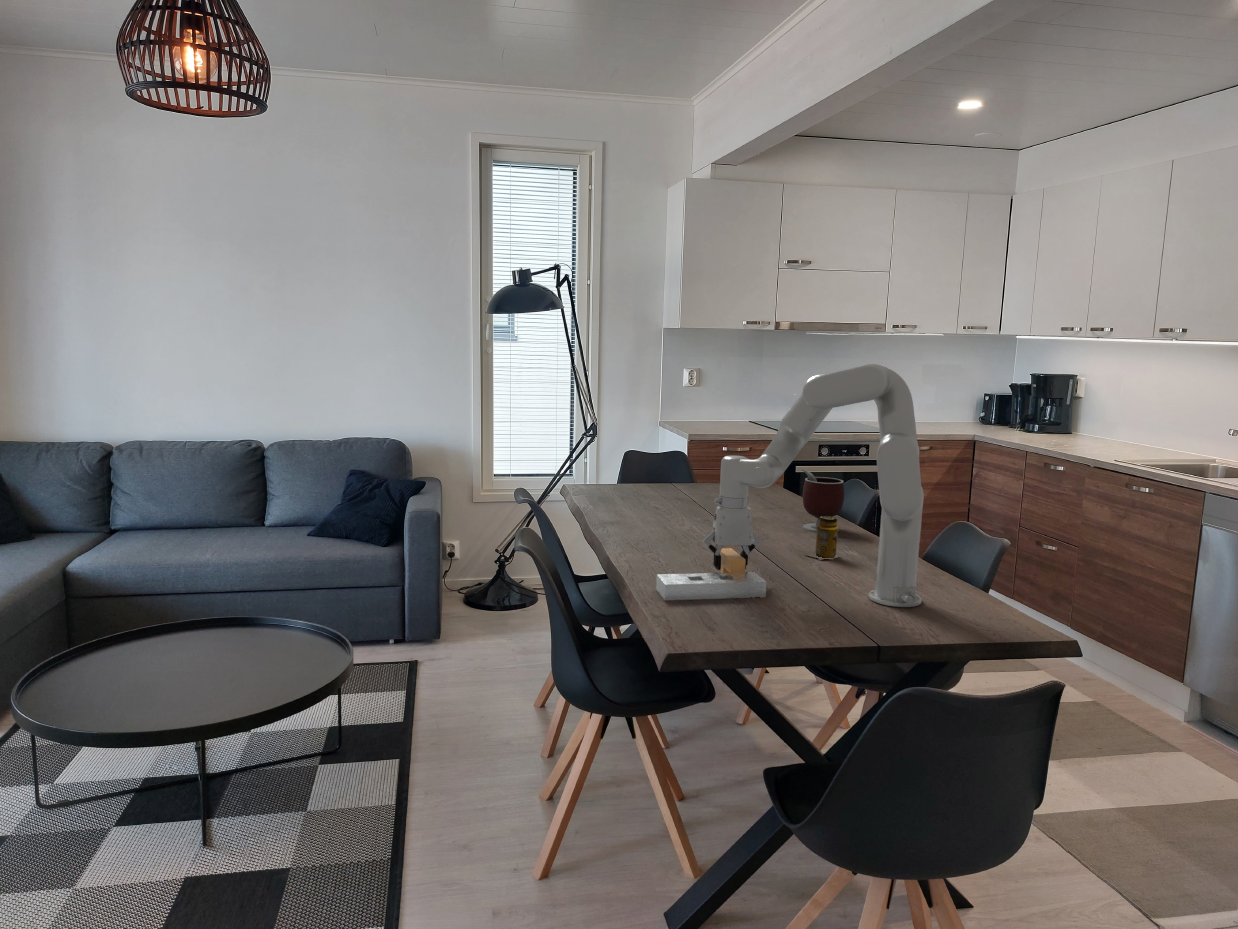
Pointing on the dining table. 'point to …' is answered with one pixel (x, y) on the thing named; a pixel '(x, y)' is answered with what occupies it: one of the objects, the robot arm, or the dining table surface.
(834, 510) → the mate gourd
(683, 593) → the white flat block
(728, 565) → the tan wooden block
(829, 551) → the condiment
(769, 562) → the dining table surface
